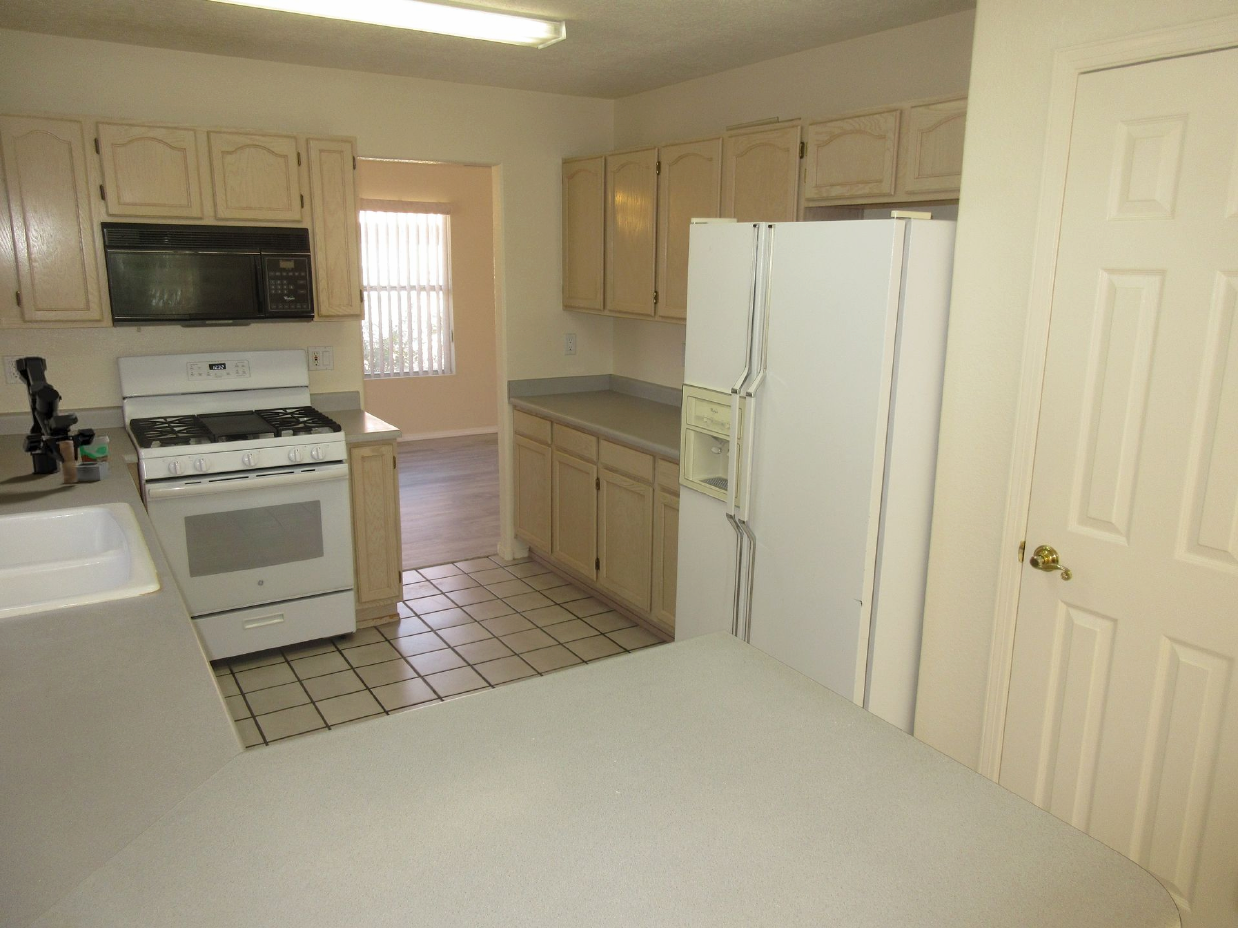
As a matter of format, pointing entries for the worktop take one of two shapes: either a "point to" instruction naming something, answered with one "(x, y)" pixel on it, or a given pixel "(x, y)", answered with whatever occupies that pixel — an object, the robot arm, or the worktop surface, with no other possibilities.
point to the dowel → (68, 461)
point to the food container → (95, 450)
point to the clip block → (92, 470)
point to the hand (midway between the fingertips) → (70, 461)
